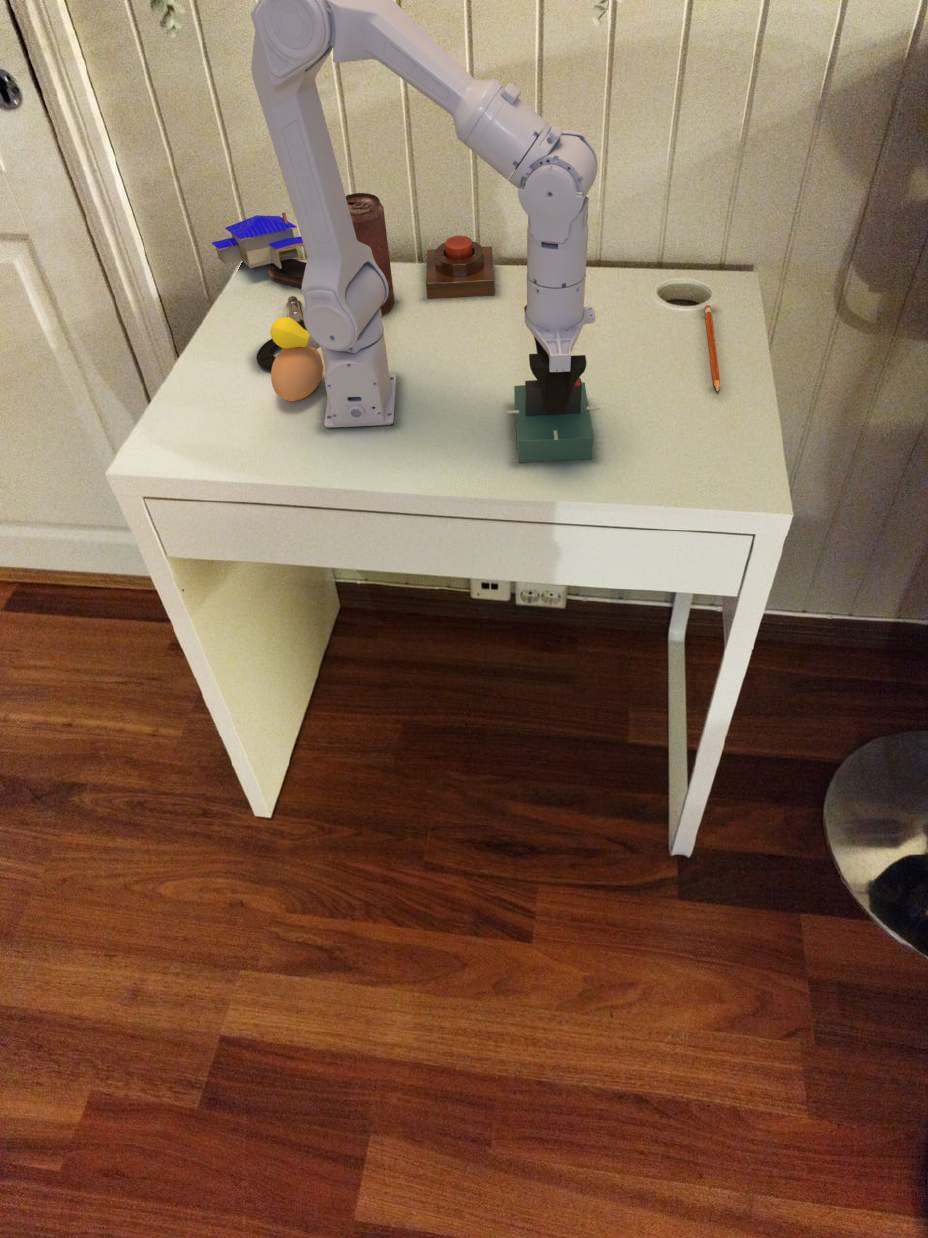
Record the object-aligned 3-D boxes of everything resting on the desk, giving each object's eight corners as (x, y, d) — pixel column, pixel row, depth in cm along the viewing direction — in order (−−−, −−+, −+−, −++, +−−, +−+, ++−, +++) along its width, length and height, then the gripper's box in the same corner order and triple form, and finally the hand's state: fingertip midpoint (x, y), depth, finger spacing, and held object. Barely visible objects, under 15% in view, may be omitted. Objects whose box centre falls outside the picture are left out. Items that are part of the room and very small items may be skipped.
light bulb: (271, 341, 110) (277, 310, 109) (320, 356, 111) (327, 326, 109) (264, 345, 107) (271, 314, 106) (315, 361, 108) (322, 331, 106)
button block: (494, 295, 125) (493, 267, 122) (427, 298, 126) (424, 270, 122) (492, 260, 131) (491, 233, 128) (428, 264, 131) (425, 236, 128)
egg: (313, 324, 110) (287, 368, 105) (340, 363, 114) (317, 407, 109) (276, 337, 113) (250, 381, 108) (304, 375, 117) (280, 418, 112)
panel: (602, 459, 102) (604, 436, 100) (508, 463, 103) (508, 440, 100) (592, 402, 109) (594, 379, 107) (505, 406, 109) (504, 383, 107)
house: (236, 279, 124) (225, 234, 121) (215, 258, 135) (204, 217, 132) (317, 260, 127) (308, 216, 124) (289, 241, 138) (281, 201, 135)
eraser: (280, 254, 132) (282, 266, 133) (262, 267, 129) (265, 279, 131) (346, 271, 128) (348, 283, 129) (329, 285, 126) (331, 297, 127)
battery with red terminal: (525, 415, 103) (525, 387, 100) (525, 406, 104) (525, 378, 101) (580, 413, 103) (582, 384, 100) (579, 404, 104) (580, 375, 101)
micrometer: (258, 373, 115) (269, 388, 117) (308, 345, 114) (319, 362, 116) (248, 315, 125) (259, 330, 127) (295, 289, 124) (305, 305, 126)
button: (472, 260, 124) (472, 247, 123) (445, 261, 124) (444, 249, 123) (472, 246, 127) (471, 234, 125) (445, 248, 127) (444, 235, 125)
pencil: (710, 309, 120) (711, 304, 120) (720, 394, 109) (721, 389, 108) (704, 309, 120) (704, 304, 120) (713, 394, 109) (714, 389, 108)
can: (342, 299, 126) (325, 196, 116) (388, 289, 127) (375, 186, 117) (352, 322, 123) (336, 218, 112) (399, 312, 124) (387, 208, 113)
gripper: (605, 311, 86) (596, 430, 97) (590, 234, 96) (583, 349, 106) (529, 315, 87) (528, 433, 97) (520, 237, 96) (520, 352, 106)
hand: (552, 389), depth 102 cm, fingers open, 7 cm apart
